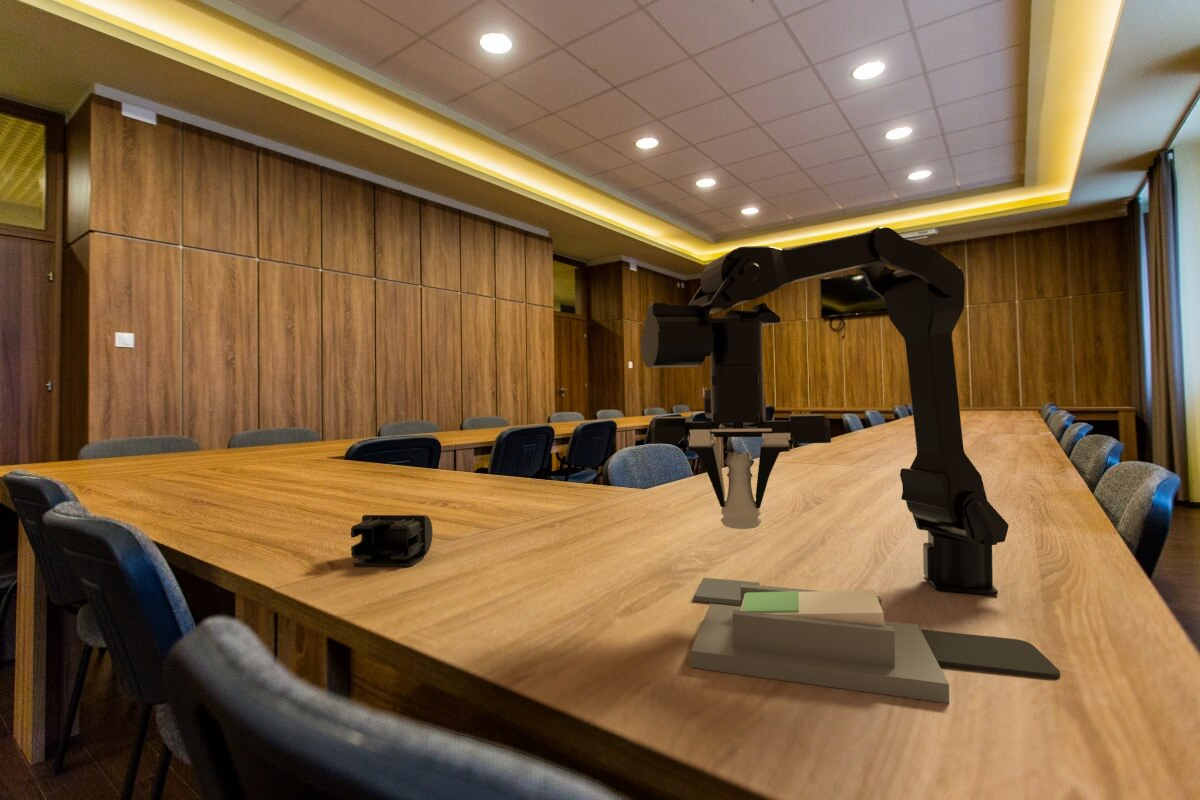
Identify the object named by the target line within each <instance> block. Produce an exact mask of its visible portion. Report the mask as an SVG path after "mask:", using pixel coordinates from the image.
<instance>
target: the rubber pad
mask: <svg viewBox="0 0 1200 800" xmlns="http://www.w3.org/2000/svg"><path fill="white" fill-rule="evenodd" d="M741 584H748V585H760V586H761V584H760V582H759V581H758V582H757V581H746V580H736V579H735V580H733V579H725V578H724V579H721V578H712V577H711V578H710V577H703V578H702V579H701V581H700V584H699V585H698V588H697V590H696V591H695V593H694V596H693V598H694V599H693V601H694V602H703V603H709V604H719V605H729V606H739V607H741V590H740V587H741Z"/></svg>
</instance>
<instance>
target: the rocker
mask: <svg viewBox="0 0 1200 800" xmlns="http://www.w3.org/2000/svg"><path fill="white" fill-rule="evenodd" d="M876 593H877V592H876V591H875V589H850V590H849V589H847V590H845V589H844V590H816V591H808V592H798V591H783V592H749V593H745V595H744V599H743V602H742V606H740V607H741V610H740V611H747V612H756V613H766V614H776V615H785V616H795V617H805V618H814V619H824V620H834V621H843V622H853V623H863V624H873V625H882V626H885V621H886V620H885V615H884V610H883V609H882V605H881V606H880V603H879V601H878V598H877V596H878V595H877V594H876Z"/></svg>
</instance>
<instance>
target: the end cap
mask: <svg viewBox="0 0 1200 800" xmlns="http://www.w3.org/2000/svg"><path fill="white" fill-rule="evenodd" d="M358 536H360V537H361V538H360V541H359V542H358V543H356V544H354V545H351V547H350V551H351V558H353V559H357V560H355V561H353V562H352V563H353V564H352V566H353V567H354V568H358V567H359V568H401V569H402V568H407V569H408V568H412V567H414V566H415V565H417V564H419V563H420V562H422V561H423V560H424V558H425V557H426V555H427V554H428V553H429V550H430V548H431V547H432V546H431V545H432V541H433V524H432V520H431V519H430V517H429V516H428V515H425V514H411V515H410V514H364V515H362V516H361V522H359V523H357V524H355V525H353V526H351V528H350V538H351V539H352V538H353V539H354V538H357V537H358Z"/></svg>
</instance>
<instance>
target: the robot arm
mask: <svg viewBox="0 0 1200 800" xmlns="http://www.w3.org/2000/svg"><path fill="white" fill-rule="evenodd" d="M885 264H886V265H888V266H890V267H891V268H895V269H897V270H896V271H893V270H891V269H890V268H889V267H888V266H886V265H885ZM853 269H856V270H857V271H858V272H860V273H861V274H862V276H863V279H864V281H865V282H866V285H867V287H868V289H870V290H871V291H872V292H873V293H874V294H876V295H877V296H878V297H880V298H881V299H883V300H884V302H885V306H886V311H887V314H888V317H889V321H890V322H891V323H892V325H893V326H894V327H895V328H896V330H897V331H898V332H899V334H900V335H901V336H902V338H903V340H904V343H905V349H906V350H905V351H906V352H905V353H906V359H907V360H906V363H907V369H908V370H907V371H908V378H909V379H908V380H909V388H910V398H911V399H910V400H911V407H912V416H913V424H914V427H913V428H914V435H915V445H916V455H915V457H914V459H913V462H912V463H911V465H910V467H909V468H903V467H902V468H901V469H900V471H899V472H900V473H899V477H900V480H901V484H902V494H901V498H900V499H901V500H902V501H905V502H906V503H905V504H906V507H907V509H908V511H909V512H910V513H911V514H912V517H913V521H914V523H915V526H916V529H918V530H920V531H926V532H927V542H924V543H923V544H922V545H923V546H922V547H923V548H922V551H923V552H922V553H923V558H922V559H923V560H922V561H923V562H922V563H923V575H924V577H926V579H927V580H928V581H929V582H930V584H931V585H932V587H933V588H934V589H935V590H938V591H946V592H957V593H971V594H982V595H993V596H994V595H999V590H998V588H996V587H995V586H994V584H993V583H994V581H993V580H994V579H993V578H994V577H993V571H994V570H993V546H997V544H1000V543H1004V542H1005V541H1006V537H1007V535H1008V531H1009V523H1008V522H1007V521H1006V520H1005V519H1004V517H1002V516H1001V514H1000V513H999V512H998V511H997V510H996V508H994V506H993V505H992V504H991V503H990V502H989V501H988V496H987V494H986V490H985V486H984V481H983V478H982V475H981V474H980V472H979V471H978V469H977V468H976V466H975V465H974V464H973V462H972V461H971V459H970V458H969V457H968V456H967V455H966V452H965V449H964V440H963V431H962V430H963V429H962V422H961V421H962V419H961V412H960V401H959V394H958V393H959V391H958V383H957V373H956V364H955V354H954V346H953V345H954V343H953V332H954V330H955V327H956V326H957V325H958V322H959V320H960V317H961V316H962V314H963V312H964V310H965V290H966V289H965V287H966V279H965V276H964V272H963V270H962V269H961V267H960V266H957V265H956V264H955V263H954V262H953V261H951V260H949V259H948V258H946V257H945V256H944V255H942V254H941V253H940V252H939V251H938V250H936V249H934V248H932V247H929V246H926V245H924V244H920V243H918V242H915V241H912V240H909V239H907V238H905V237H903V236H902V235H900V234H899V233H898V232H897V231H895V229H892V228H891V227H888V226H887V227H886V226H878V227H875V228H873V229H871V230H868V231H865V232H859V233H856V234H851V235H846V236H840V237H837V238H831V239H828V240H823V241H818V242H813V243H810V244H805V245H804V244H803V245H800V246H795V247H791V248H779V247H775V246H769V245H763V246H762V245H759V246H758V245H757V246H756V245H755V246H754V245H753V246H751V245H750V246H749V245H747V246H739V247H737V248H734V249H732V250H731V251H729V252H727V253H725V254H723V255H721V256H719V257H718V258H715V259H714V260H712V261H710V262H709V263H707V264H706V265H705V267H704V269H703V271H702V273H701V275H700V286H699V288H698V290H697V291H696V293H695V294H694V296H693V297H692V299H691V300H690V301H689V303H688V304H670V303H666V302H654V303H651V304H649V305H648V306H647V307H646V318H645V320H644V323H643V329H642V333H641V334H642V335H641V336H640V339H639V340H640V352H641V357H642V361H643V363H644V365H645V367H647V368H649V369H651V368H653V369H654V368H691V367H692V368H698V367H700V366H702V364H703V363H704V362H705V359H706V358H708V357H709V363H710V365H709V366H710V369H709V370H710V373H709V375H710V389H705V390H704V401H703V402H704V403H703V410H704V411H703V412H704V414H705V417H706V419H711V421H693V417H692V415H689V416H687V415H686V416H681V415H680V416H662V417H657V418H655V419H654V420H653V422H651V426H650V442H651V444H653V445H654V444H655V445H656V444H657V445H661V444H669V445H670V444H673V445H674V444H675V445H676V444H680V443H681V441H683V440H687V441H688V446H686V449H687V452H695V453H696V455H697V457H698V458H699V461H700V462H701V464H702V466H703V468H704V470H705V471H706V473H707V476H708V477H709V481H710V482H711V485H712V489H713V490H714V493H715V495H716V498H717V501H718V503H719V506H720V507H721V508H723V507H724V506H725V501H726V490H725V482H724V476H723V469H722V464H721V463H722V462H721V456H720V455H721V454H720V452H721V451H720V442H719V441H715V440H717V438H761V439H762V442H761V445H760V451H759V452H760V453H759V459H758V470H757V480H756V481H757V482H756V488H755V489H756V490H755V502H756V508H759V509H761V505H762V503H763V499H764V495H765V492H766V489H767V484H768V482H769V479H770V475H771V474H772V473H771V472H772V470H773V468H774V466H775V464H776V461H777V459H778V457H779V455H780V453H781V452H782V453H783V452H785V453H786V452H790V451H791V447H790V446H791V445H790V442H789V441H791V438H793V439H794V440H795V441H796V442H797V443H798V444H830V443H832V434H831V433H832V430H831V429H832V428H831V420H830V419H829V418H828V417H827V416H826V415H824V414H822V413H806V414H805V413H803V414H801V413H798V414H789V420H767V410H766V409H767V406H766V403H767V402H766V401H767V400H766V397H765V385H764V383H765V382H764V381H765V377H764V351H763V350H764V349H763V344H764V343H763V327H767V326H771V325H775V324H779V323H781V320H782V319H781V317H780V316H779V315H778V313H776V312H774V311H773V310H771V309H770V308H769V306H768V305H767V304H766V302H762V303H758V304H756V305H755V304H754V305H753V307H752V308H751V309H743V310H742V309H731V310H729V311H727V312H726V313H725V314H724V315H723V317H722V318H721V317H720V318H718V317H717V318H716V317H714V318H713V317H712V318H711V315H712V314H715V313H718V312H721V311H724V310H727V309H730V308H733V307H735V306H736V307H737V306H739V305H742V304H744V303H748V302H751V301H754V300H756V299H760V298H761V297H763V296H766V295H768V294H770V293H772V292H775V291H776V290H780V289H781V288H782V287H785V286H786V285H789V284H793V283H798V282H802V281H806V280H811V279H813V278H820V277H822V276H828V275H832V274H836V273H841V272H844V271H848V270H853Z"/></svg>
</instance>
